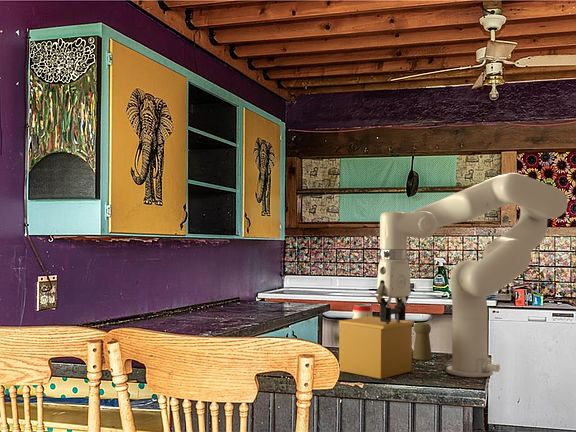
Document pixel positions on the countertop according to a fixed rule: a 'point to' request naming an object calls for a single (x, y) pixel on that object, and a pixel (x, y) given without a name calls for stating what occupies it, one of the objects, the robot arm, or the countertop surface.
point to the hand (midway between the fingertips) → (392, 320)
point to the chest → (375, 350)
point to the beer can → (362, 311)
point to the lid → (376, 323)
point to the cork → (422, 342)
